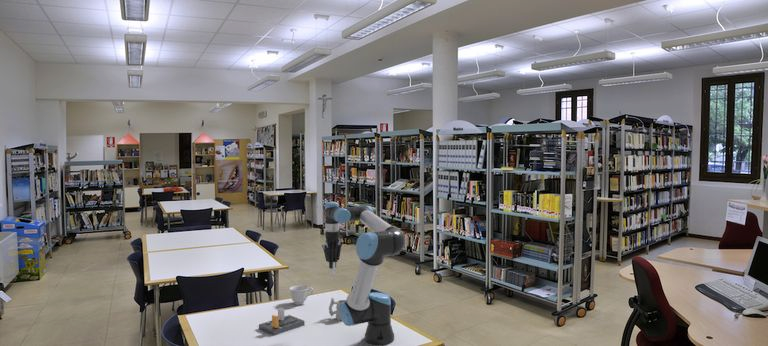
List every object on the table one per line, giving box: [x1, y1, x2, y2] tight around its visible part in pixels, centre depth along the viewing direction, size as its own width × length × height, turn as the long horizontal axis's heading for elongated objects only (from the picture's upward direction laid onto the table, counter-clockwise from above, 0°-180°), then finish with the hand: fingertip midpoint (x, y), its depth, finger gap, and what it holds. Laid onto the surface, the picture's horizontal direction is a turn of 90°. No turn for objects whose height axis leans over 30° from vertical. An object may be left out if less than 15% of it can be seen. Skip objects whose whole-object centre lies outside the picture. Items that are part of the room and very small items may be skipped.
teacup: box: [289, 284, 314, 306], centre depth 297 cm, size 12×15×10 cm
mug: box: [328, 297, 346, 322], centre depth 270 cm, size 8×12×12 cm, turn 83°
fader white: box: [277, 307, 285, 321], centre depth 261 cm, size 4×2×6 cm, turn 47°
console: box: [258, 314, 305, 337], centre depth 257 cm, size 14×20×3 cm
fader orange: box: [271, 313, 279, 328], centre depth 250 cm, size 4×2×6 cm, turn 47°
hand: (332, 273), depth 255 cm, fingers closed
